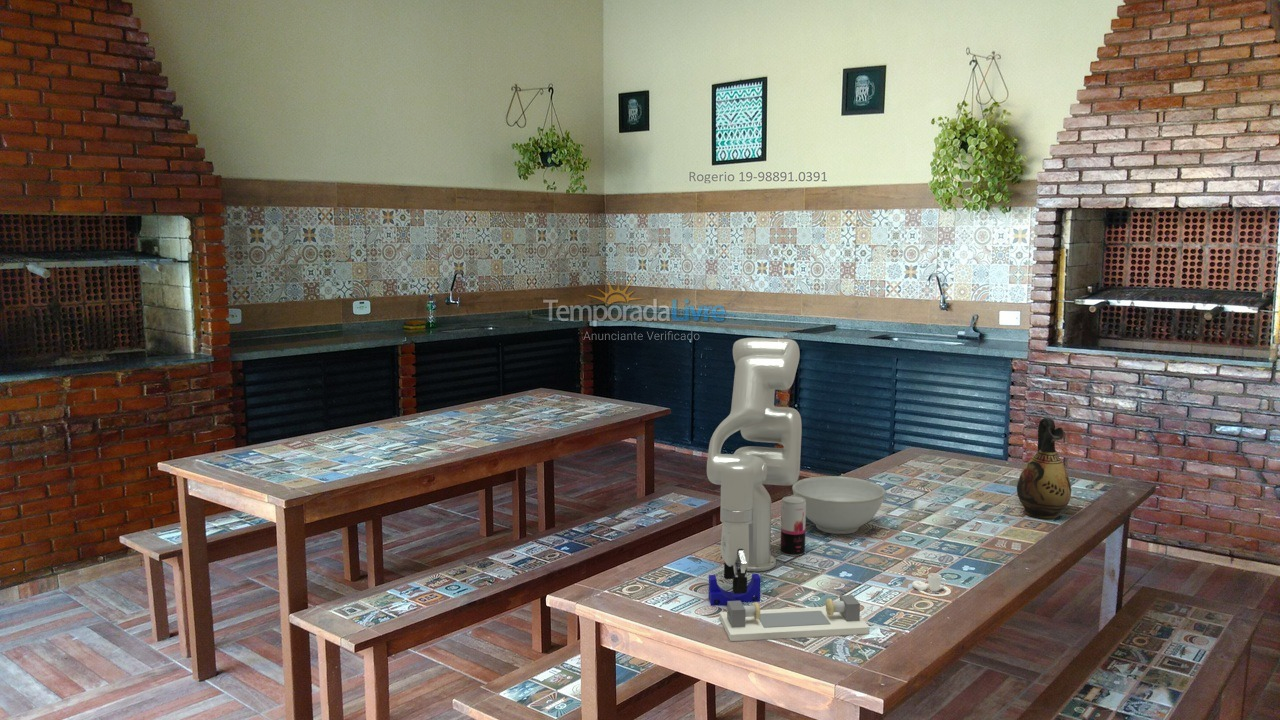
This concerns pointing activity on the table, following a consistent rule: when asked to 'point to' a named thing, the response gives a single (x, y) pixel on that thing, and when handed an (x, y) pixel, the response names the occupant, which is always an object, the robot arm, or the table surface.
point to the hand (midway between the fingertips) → (735, 585)
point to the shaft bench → (793, 620)
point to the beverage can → (793, 525)
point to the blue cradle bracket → (721, 596)
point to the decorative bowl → (839, 502)
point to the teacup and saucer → (932, 585)
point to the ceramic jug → (1045, 476)
